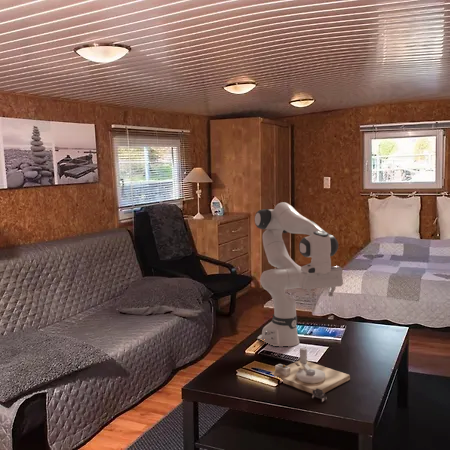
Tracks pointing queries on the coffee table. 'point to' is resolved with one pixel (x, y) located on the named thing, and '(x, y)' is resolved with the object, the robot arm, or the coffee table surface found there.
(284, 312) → the robot arm
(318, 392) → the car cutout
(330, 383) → the stand board
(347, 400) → the coffee table surface
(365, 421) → the coffee table surface
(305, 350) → the dial
